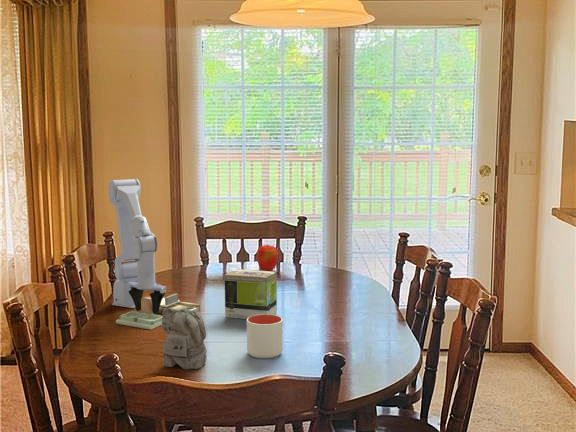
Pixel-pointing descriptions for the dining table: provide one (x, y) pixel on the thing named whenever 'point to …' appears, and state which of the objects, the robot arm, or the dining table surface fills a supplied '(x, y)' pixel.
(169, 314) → the figurine
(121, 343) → the dining table surface
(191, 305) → the plate
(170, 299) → the lid
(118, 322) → the socket board
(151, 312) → the peg
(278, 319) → the cup
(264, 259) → the apple
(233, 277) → the tea box
